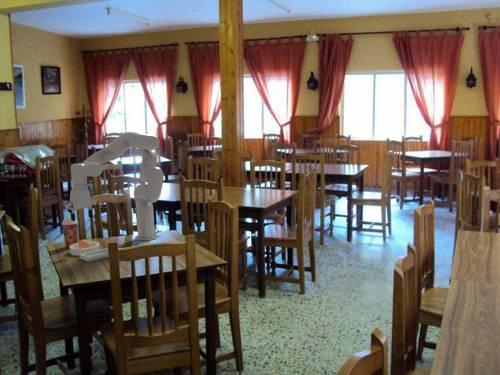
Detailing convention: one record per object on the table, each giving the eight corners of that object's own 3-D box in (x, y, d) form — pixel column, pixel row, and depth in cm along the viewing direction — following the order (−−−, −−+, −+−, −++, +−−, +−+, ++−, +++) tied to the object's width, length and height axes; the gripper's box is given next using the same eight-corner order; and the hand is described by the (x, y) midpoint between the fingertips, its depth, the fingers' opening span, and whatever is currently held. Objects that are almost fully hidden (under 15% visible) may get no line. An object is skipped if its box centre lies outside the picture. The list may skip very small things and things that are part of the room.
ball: (87, 248, 285) (86, 237, 284) (92, 250, 281) (91, 239, 280) (76, 250, 281) (76, 239, 280) (82, 252, 277) (81, 241, 276)
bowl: (90, 246, 291) (90, 240, 291) (104, 251, 281) (104, 244, 280) (65, 252, 281) (64, 245, 280) (78, 257, 271) (77, 250, 270)
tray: (107, 251, 279) (107, 247, 279) (116, 255, 273) (116, 250, 273) (79, 258, 268) (79, 254, 268) (88, 261, 262) (87, 257, 262)
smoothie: (82, 244, 295) (79, 209, 292) (76, 248, 287) (73, 212, 284) (68, 244, 296) (65, 209, 293) (61, 248, 288) (58, 212, 285)
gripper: (91, 184, 284) (93, 215, 287) (60, 188, 272) (63, 220, 275) (98, 185, 279) (100, 217, 281) (67, 189, 267) (69, 222, 269)
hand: (82, 219), depth 278 cm, fingers open, 9 cm apart
